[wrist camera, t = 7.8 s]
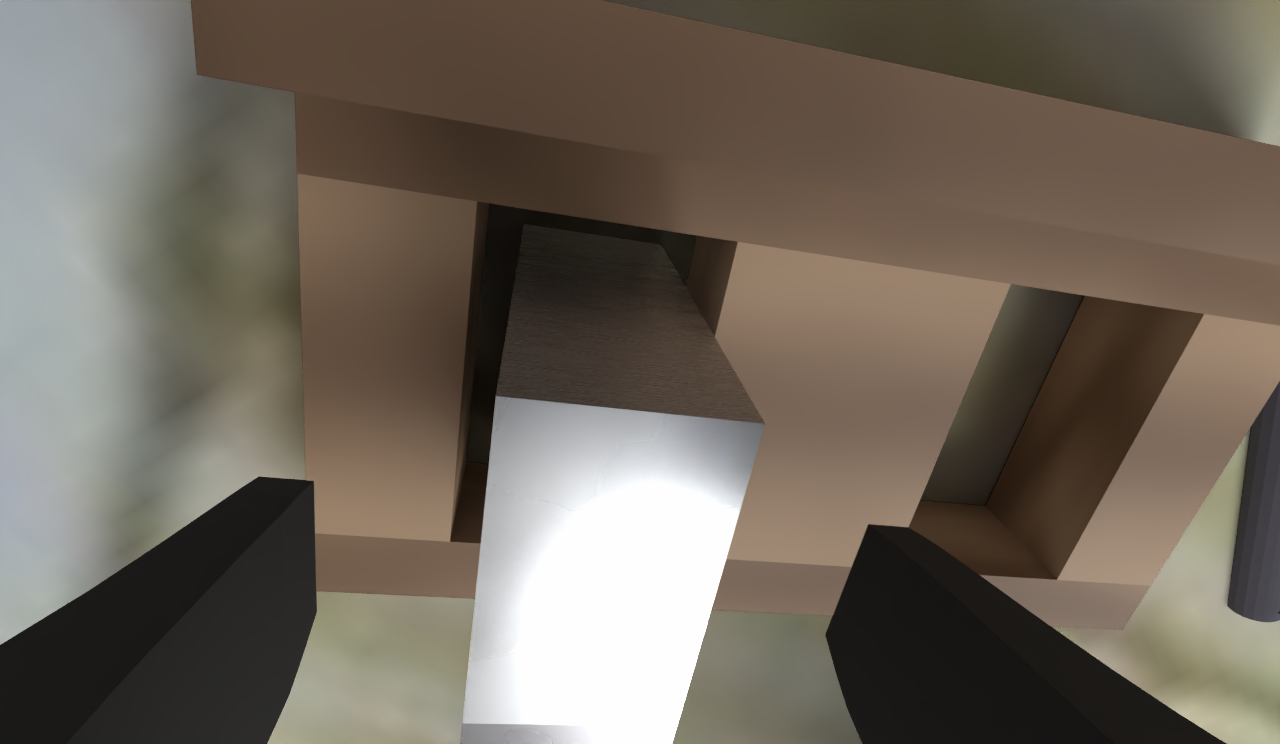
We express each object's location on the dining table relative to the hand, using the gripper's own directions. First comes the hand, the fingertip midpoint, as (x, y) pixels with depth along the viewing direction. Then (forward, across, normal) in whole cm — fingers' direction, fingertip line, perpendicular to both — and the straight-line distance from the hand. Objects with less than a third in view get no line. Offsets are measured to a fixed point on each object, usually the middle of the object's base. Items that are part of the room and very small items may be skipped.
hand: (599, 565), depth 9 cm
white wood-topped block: (+8, 0, 0) cm, 8 cm away
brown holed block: (+8, -5, 0) cm, 9 cm away
